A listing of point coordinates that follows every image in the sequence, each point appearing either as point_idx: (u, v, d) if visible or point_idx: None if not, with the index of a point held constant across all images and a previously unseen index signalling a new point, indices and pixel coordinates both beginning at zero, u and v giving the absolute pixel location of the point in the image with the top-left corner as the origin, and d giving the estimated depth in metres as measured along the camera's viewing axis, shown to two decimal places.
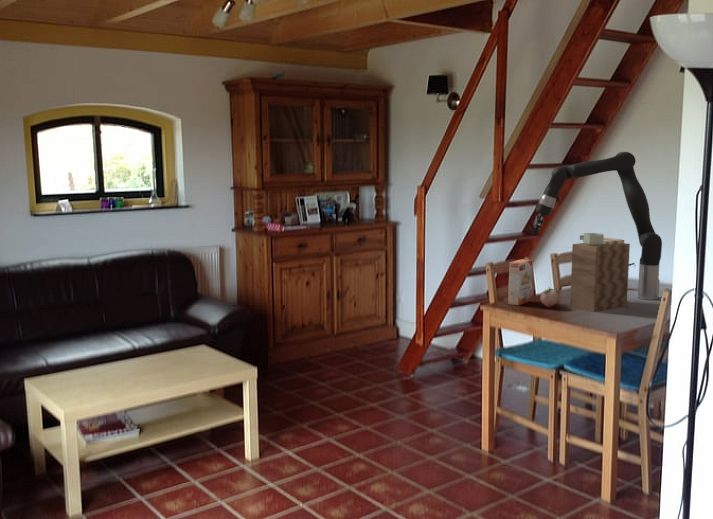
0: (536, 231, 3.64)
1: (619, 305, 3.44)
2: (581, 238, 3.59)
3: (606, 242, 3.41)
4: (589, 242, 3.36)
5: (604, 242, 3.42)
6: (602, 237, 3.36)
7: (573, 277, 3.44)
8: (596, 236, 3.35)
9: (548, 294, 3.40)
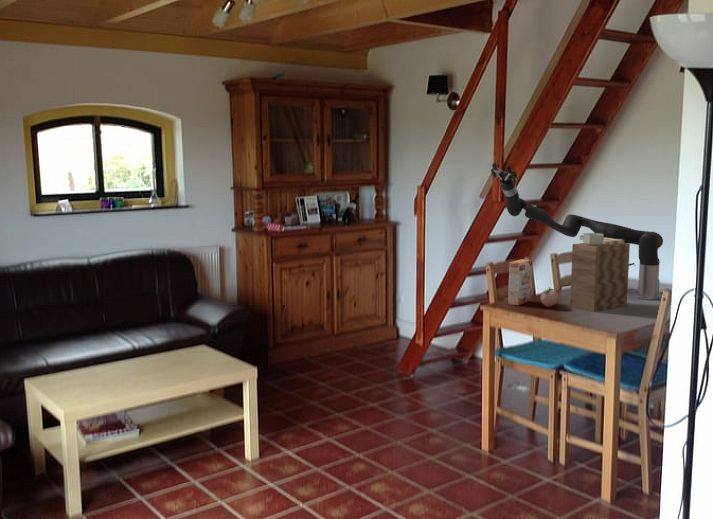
0: (510, 170, 3.76)
1: (619, 305, 3.44)
2: (581, 238, 3.59)
3: (606, 242, 3.41)
4: (589, 242, 3.36)
5: (604, 242, 3.42)
6: (602, 237, 3.36)
7: (573, 277, 3.44)
8: (596, 236, 3.35)
9: (548, 294, 3.40)
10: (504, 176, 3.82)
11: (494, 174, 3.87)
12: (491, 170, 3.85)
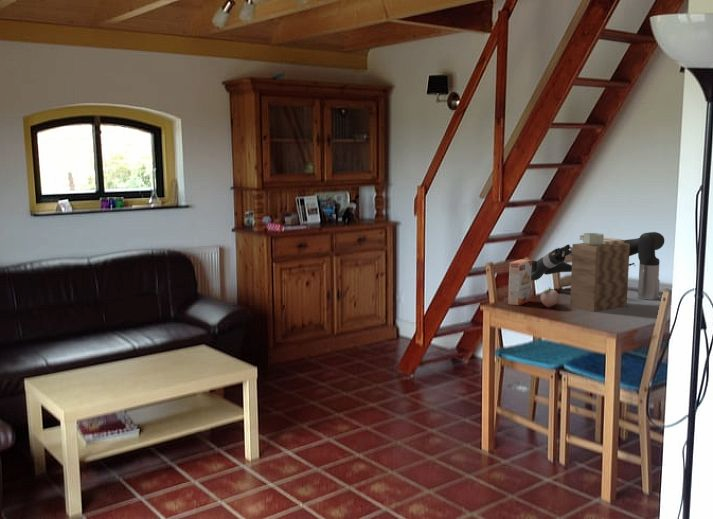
0: None
1: (619, 305, 3.44)
2: (581, 238, 3.59)
3: (606, 242, 3.41)
4: (589, 242, 3.36)
5: (604, 242, 3.42)
6: (602, 237, 3.36)
7: (573, 277, 3.44)
8: (596, 236, 3.35)
9: (548, 294, 3.40)
10: (566, 253, 3.70)
11: None
12: (560, 252, 3.64)
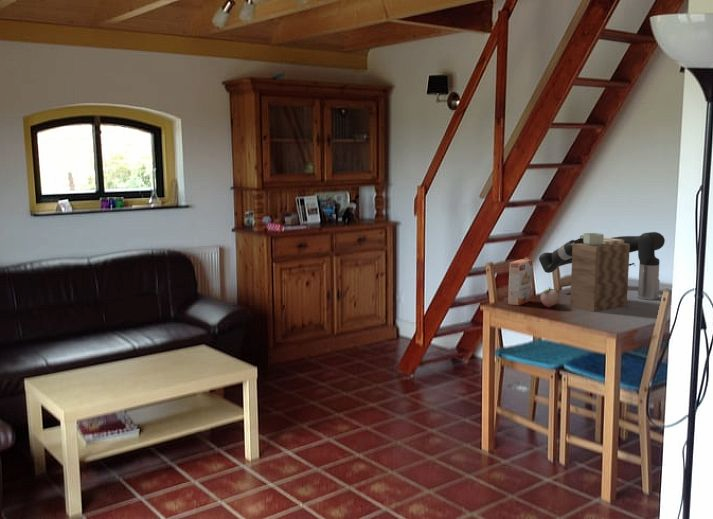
0: None
1: (619, 305, 3.44)
2: None
3: (606, 242, 3.41)
4: (589, 242, 3.36)
5: (604, 242, 3.42)
6: (602, 237, 3.36)
7: (573, 277, 3.44)
8: (596, 236, 3.35)
9: (548, 294, 3.40)
10: None
11: None
12: (582, 242, 3.56)
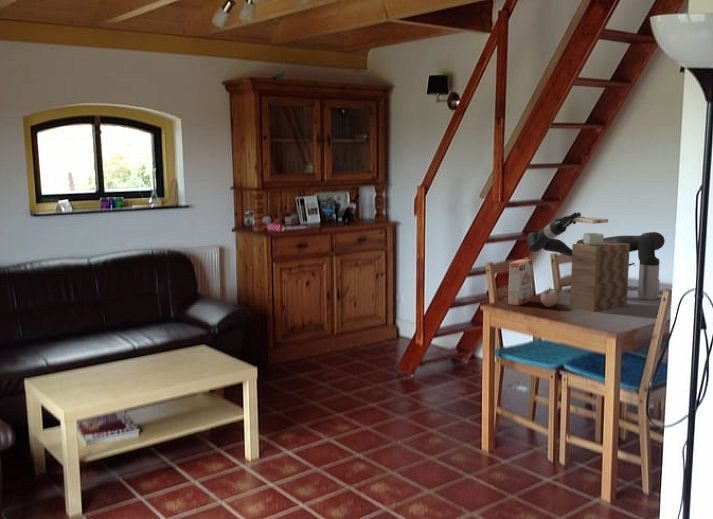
0: None
1: (619, 305, 3.44)
2: None
3: (590, 221, 3.48)
4: (589, 242, 3.36)
5: (588, 221, 3.49)
6: (602, 237, 3.36)
7: (573, 277, 3.44)
8: (596, 236, 3.35)
9: (548, 294, 3.40)
10: None
11: (562, 223, 3.65)
12: (567, 220, 3.63)
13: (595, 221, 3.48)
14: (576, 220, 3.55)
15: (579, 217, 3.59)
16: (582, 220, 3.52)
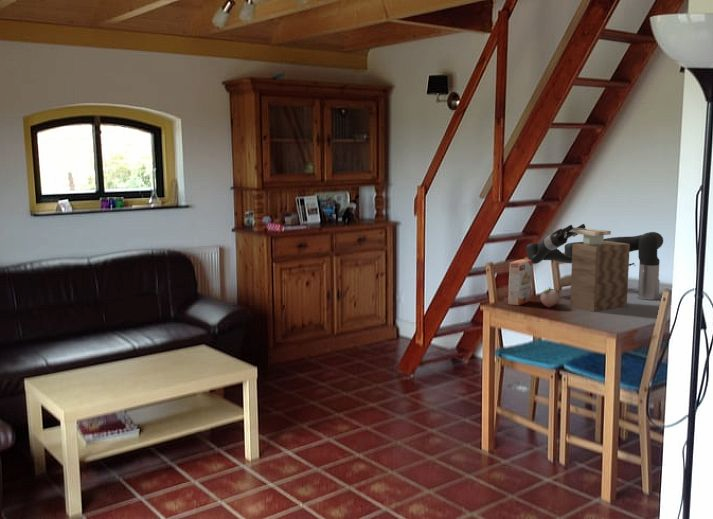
0: None
1: (619, 305, 3.44)
2: None
3: (592, 233, 3.33)
4: (589, 242, 3.36)
5: (590, 233, 3.34)
6: (602, 237, 3.36)
7: (573, 277, 3.44)
8: (596, 236, 3.35)
9: (548, 294, 3.40)
10: (569, 234, 3.53)
11: (559, 235, 3.50)
12: (562, 233, 3.47)
13: (597, 233, 3.33)
14: (577, 232, 3.40)
15: (580, 229, 3.44)
16: (583, 232, 3.37)
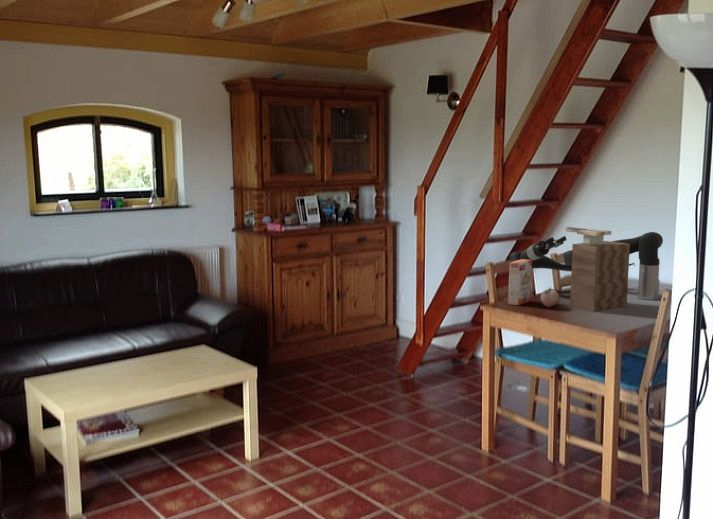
0: None
1: (619, 305, 3.44)
2: (567, 230, 3.51)
3: (593, 233, 3.33)
4: (589, 242, 3.36)
5: (591, 233, 3.34)
6: (602, 237, 3.36)
7: (573, 277, 3.44)
8: (596, 236, 3.35)
9: (548, 294, 3.40)
10: (550, 246, 3.64)
11: (540, 247, 3.61)
12: (544, 245, 3.58)
13: (598, 233, 3.32)
14: (578, 232, 3.40)
15: (581, 229, 3.44)
16: (584, 232, 3.37)
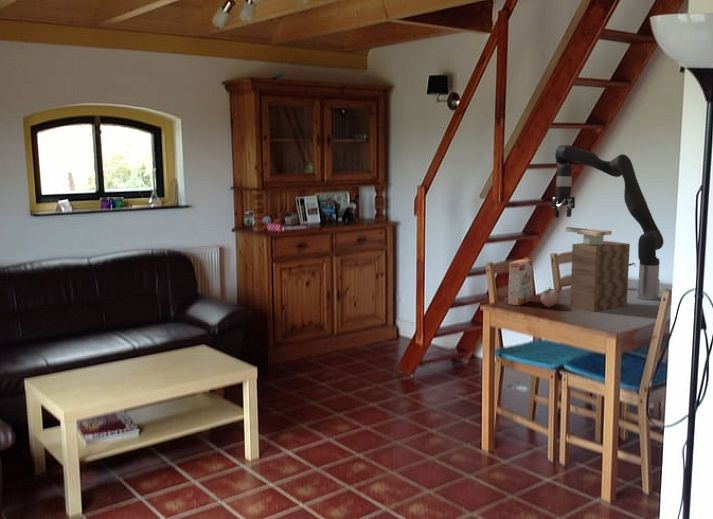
0: None
1: (619, 305, 3.44)
2: (567, 230, 3.51)
3: (593, 233, 3.33)
4: (589, 242, 3.36)
5: (591, 233, 3.34)
6: (602, 237, 3.36)
7: (573, 277, 3.44)
8: (596, 236, 3.35)
9: (548, 294, 3.40)
10: None
11: None
12: None
13: (598, 233, 3.32)
14: (578, 232, 3.40)
15: (581, 229, 3.44)
16: (584, 232, 3.37)
